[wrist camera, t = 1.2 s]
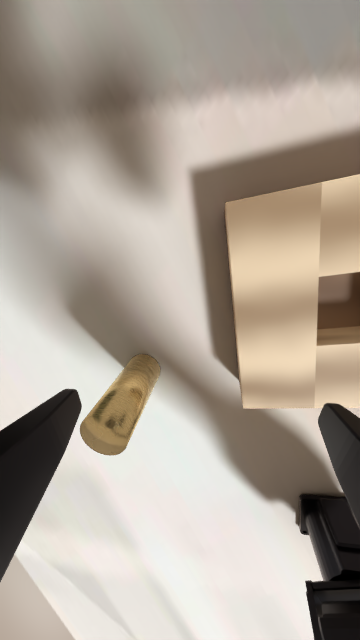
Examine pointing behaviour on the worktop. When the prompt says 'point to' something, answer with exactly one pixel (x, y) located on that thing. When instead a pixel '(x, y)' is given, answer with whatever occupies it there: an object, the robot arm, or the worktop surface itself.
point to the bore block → (297, 294)
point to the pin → (120, 407)
